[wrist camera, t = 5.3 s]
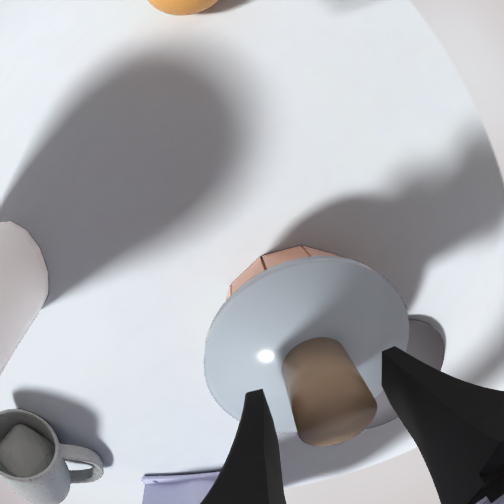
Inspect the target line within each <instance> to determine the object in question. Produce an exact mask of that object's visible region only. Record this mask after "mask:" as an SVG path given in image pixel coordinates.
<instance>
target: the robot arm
mask: <svg viewBox="0 0 504 504" xmlns="http://www.w3.org/2000/svg"><path fill="white" fill-rule="evenodd" d="M381 386H382V388H383V390H384V392H385V394H386V396H387V398H388V400H389V402H390V404H391V406H392V407H393V409H394V410H395V412H396V414H397V415H398V417H399V418H400V420H401V421H402V423H403V424H404V426H405V427H406V429H407V430H408V432H409V433H410V435H411V436H412V438H413V439H414V441H415V442H416V444H417V446H418V448H419V450H420V452H421V454H422V456H423V458H424V460H425V462H426V465H427V467H428V469H429V472H430V474H431V476H432V479H433V482H434V484H435V487H436V489H437V492H438V495H439V498H440V502H441V504H504V391H499V390H494V389H489V388H485V387H481V386H477V385H474V384H471V383H468V382H465V381H462V380H459V379H457V378H454V377H452V376H450V375H447V374H445V373H443V372H441V371H439V370H437V369H435V368H433V367H431V366H429V365H427V364H425V363H424V362H422V361H420V360H418V359H416V358H415V357H413V356H411V355H409V354H408V353H406V352H404V351H403V350H401V349H399V348H397V347H396V346H394V347H391V348H389V349H386V350H384V351H382V381H381ZM142 482H143V483H144V484H145V488H144V495H143V501H142V504H286V501H285V496H284V490H283V483H282V473H281V464H280V454H279V445H278V438H277V434H276V430H275V425H274V421H273V418H272V415H271V412H270V409H269V406H268V403H267V400H266V397H265V394H264V391H263V389H259V390H255V391H250V392H247V393H246V394H245V400H244V406H243V411H242V415H241V420H240V423H239V426H238V430H237V433H236V436H235V439H234V442H233V444H232V447H231V450H230V452H229V455H228V457H227V459H226V461H225V463H224V466H223V468H222V470H221V471H220V472H211V473H202V474H190V475H175V476H143V477H142Z"/></svg>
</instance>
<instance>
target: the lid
mask: <svg viewBox="0 0 504 504" xmlns="http://www.w3.org/2000/svg"><path fill="white" fill-rule="evenodd" d="M408 339H409V319H408V314H407V310H406V307H405V304H404V302H403V300H402V298H401V296H400V295H399V293H398V292H397V290H396V289H395V288H394V287H393V286H392V285H391V284H390V283H389V282H388V281H387V280H386V279H385V278H384V277H383V276H381V275H380V274H379V273H377V272H376V271H374V270H373V269H372V268H370V267H369V266H366V265H364V264H362V263H360V262H358V261H355V260H351V259H348V258H344V257H337V256H310V257H302V258H298V259H294V260H290V261H286V262H283V263H281V264H278V265H275V266H273V267H270V268H268V269H267V270H265V271H263V272H261V273H259V274H257V275H256V276H254V277H253V278H251V279H250V280H248V281H247V282H245V283H244V284H243V285H242V286H241V287H239V288H238V289H237V290H236V291H235V292H234V293H233V294H232V295H231V296H230V297H229V298H228V299H227V300H226V302H225V303H224V304H223V305H222V307H221V308H220V310H219V311H218V313H217V314H216V316H215V317H214V320H213V322H212V324H211V326H210V328H209V331H208V335H207V339H206V344H205V353H204V374H205V379H206V382H207V386H208V388H209V390H210V392H211V395H212V396H213V398H214V399H215V401H216V402H217V403H218V404H219V405H220V407H221V408H222V409H223V410H224V411H225V412H227V413H228V414H229V415H231V416H232V417H233V418H235V419H237V420H238V421H240V420H241V415H242V411H243V406H244V400H245V394H246V393H247V392H250V391H255V390H259V389H263V391H264V394H265V397H266V400H267V403H268V406H269V409H270V412H271V415H272V418H273V421H274V425H275V430H276V432H298V436H299V438H300V439H301V440H302V441H303V442H305V443H307V444H309V445H313V446H329V445H335V444H338V443H341V442H344V441H347V440H349V439H351V438H353V437H354V436H356V435H358V434H359V433H361V432H362V431H363V430H364V429H365V428H366V427H367V426H368V425H369V424H370V423H371V422H372V420H373V419H374V417H375V415H376V412H377V402H376V400H375V398H376V397H377V396H378V395H379V394H380V393H381V392H382V391H383V388H382V386H381V381H382V351H384V350H386V349H389V348H391V347H394V346H396V347H397V348H399V349H401V350H403V351H404V352H406V349H407V344H408Z"/></svg>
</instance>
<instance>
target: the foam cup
mask: <svg viewBox="0 0 504 504" xmlns="http://www.w3.org/2000/svg"><path fill="white" fill-rule="evenodd" d="M48 293H49V291H48V270H47V267H46V265H45V262H44V259H43V256H42V253H41V250H40V248H39V246H38V245H37V244H36V242H35V241H34V240H33V238H32V237H31V236H30V234H29V233H28V231H27V230H25V229H24V228H22V227H20V226H19V225H17V224H15V223H13V222H12V221H7V222H0V375H1V373H2V371H3V370H4V368H5V366H6V364H7V363H8V361H9V359H10V358H11V356H12V354H13V353H14V351H15V349H16V348H17V346H18V344H19V343H20V341H21V340H22V338H23V337H24V335H25V333H26V332H27V330H28V329H29V327H30V326H31V324H32V323H33V321H34V320H35V318H36V317H37V315H38V314H39V311H40V310H41V309H42V307H43V305H44V302H45V300H46V298H47V295H48Z"/></svg>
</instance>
